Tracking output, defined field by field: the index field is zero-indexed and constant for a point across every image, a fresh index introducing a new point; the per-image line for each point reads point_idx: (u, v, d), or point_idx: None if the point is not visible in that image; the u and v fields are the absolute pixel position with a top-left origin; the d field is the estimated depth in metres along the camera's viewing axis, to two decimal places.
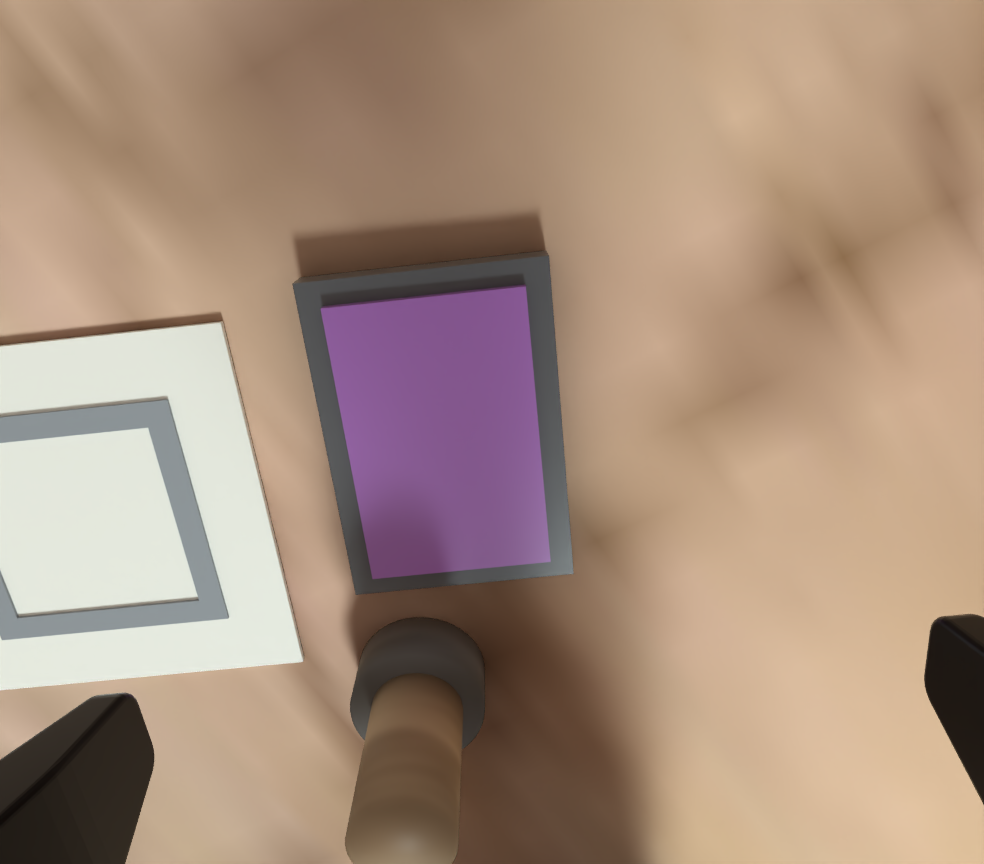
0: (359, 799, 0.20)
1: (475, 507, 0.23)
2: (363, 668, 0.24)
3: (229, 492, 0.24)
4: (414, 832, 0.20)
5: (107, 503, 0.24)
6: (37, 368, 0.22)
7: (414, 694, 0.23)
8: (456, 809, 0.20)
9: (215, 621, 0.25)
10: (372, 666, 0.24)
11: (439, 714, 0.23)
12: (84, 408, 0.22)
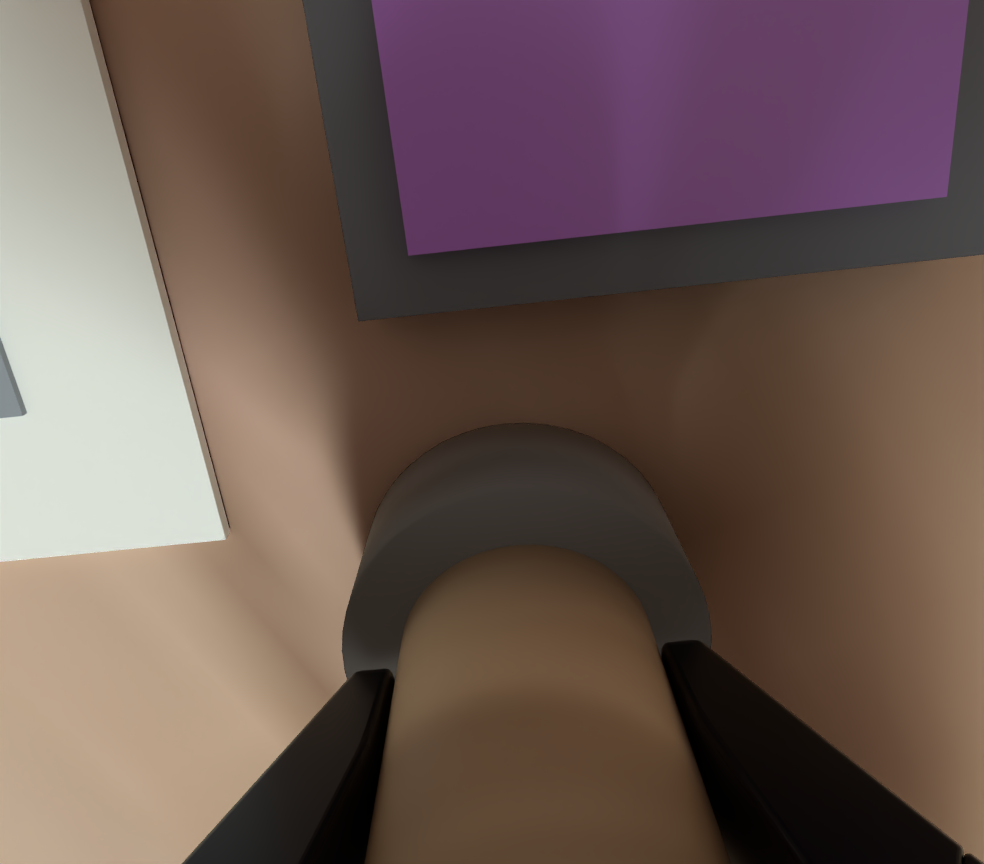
0: None
1: None
2: (379, 538, 0.09)
3: None
4: None
5: None
6: None
7: (538, 595, 0.08)
8: None
9: None
10: (405, 524, 0.08)
11: (626, 652, 0.07)
12: None
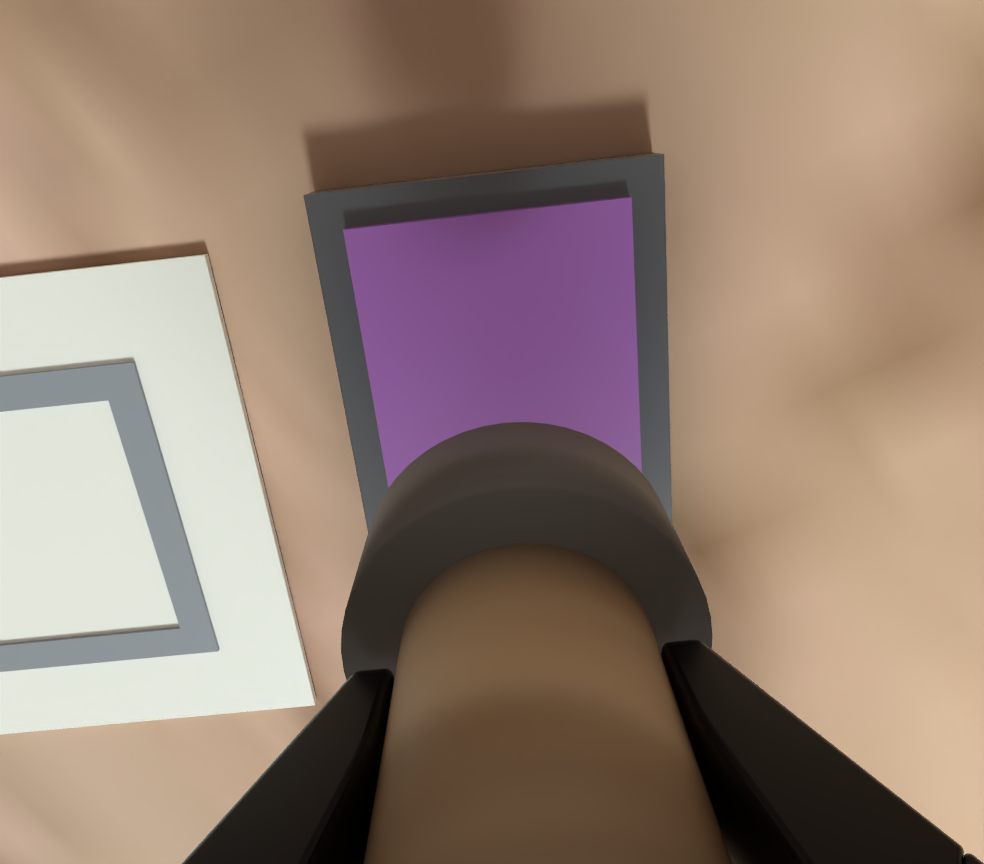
0: None
1: None
2: (378, 538, 0.09)
3: (218, 487, 0.18)
4: None
5: (57, 502, 0.18)
6: None
7: (538, 594, 0.07)
8: None
9: (201, 654, 0.19)
10: (404, 524, 0.08)
11: (627, 652, 0.07)
12: (22, 374, 0.17)
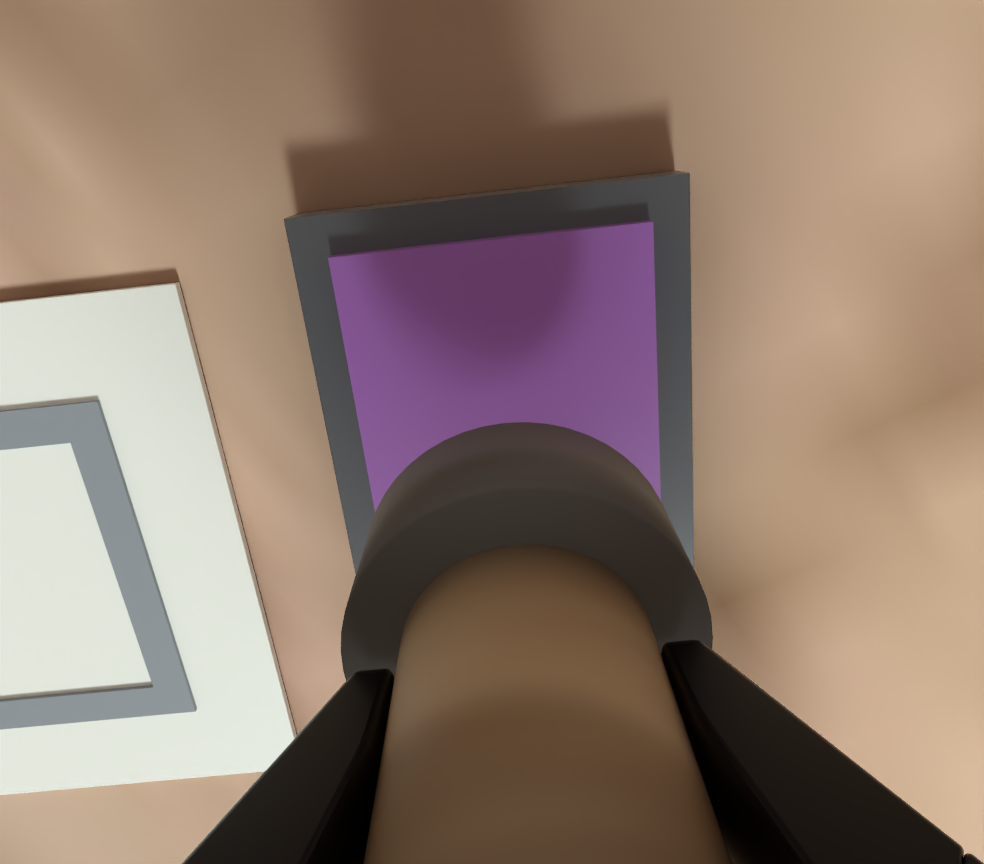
0: None
1: None
2: (378, 538, 0.09)
3: (193, 536, 0.16)
4: None
5: (16, 552, 0.16)
6: None
7: (538, 595, 0.07)
8: None
9: (177, 714, 0.18)
10: (405, 524, 0.08)
11: (627, 653, 0.07)
12: None
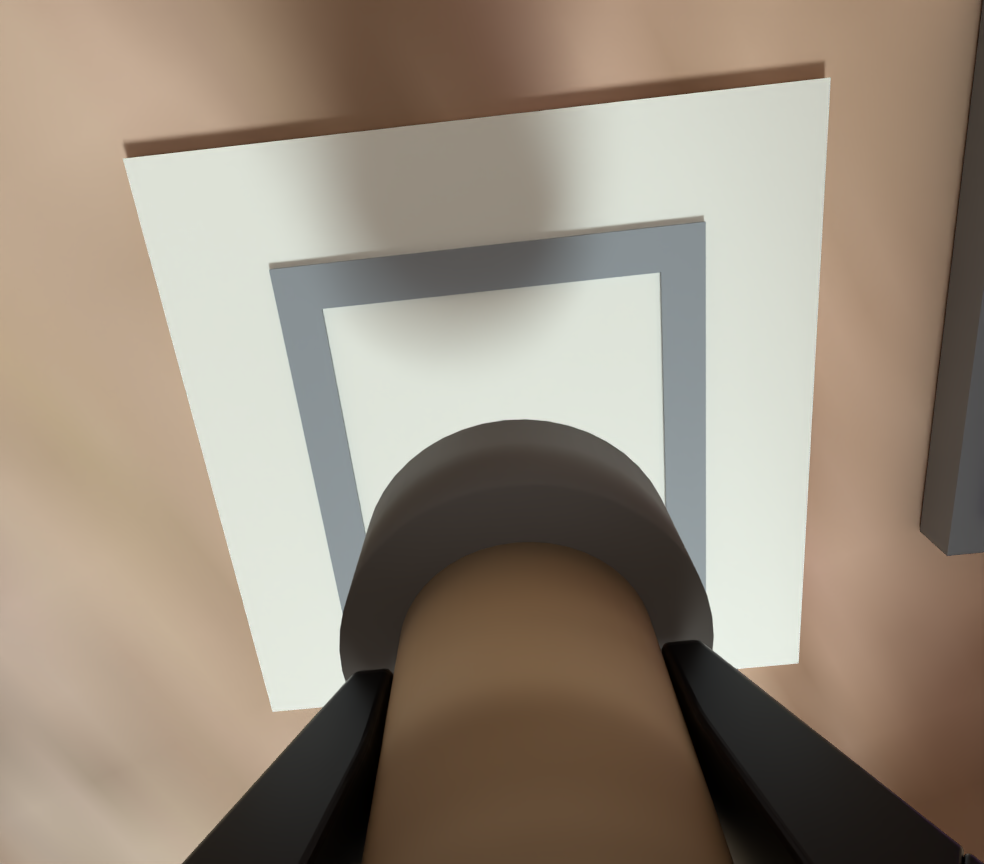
0: None
1: None
2: (376, 535, 0.09)
3: (761, 387, 0.14)
4: None
5: (558, 406, 0.15)
6: (496, 164, 0.13)
7: (538, 593, 0.07)
8: None
9: None
10: (403, 521, 0.08)
11: (628, 651, 0.07)
12: (563, 237, 0.13)
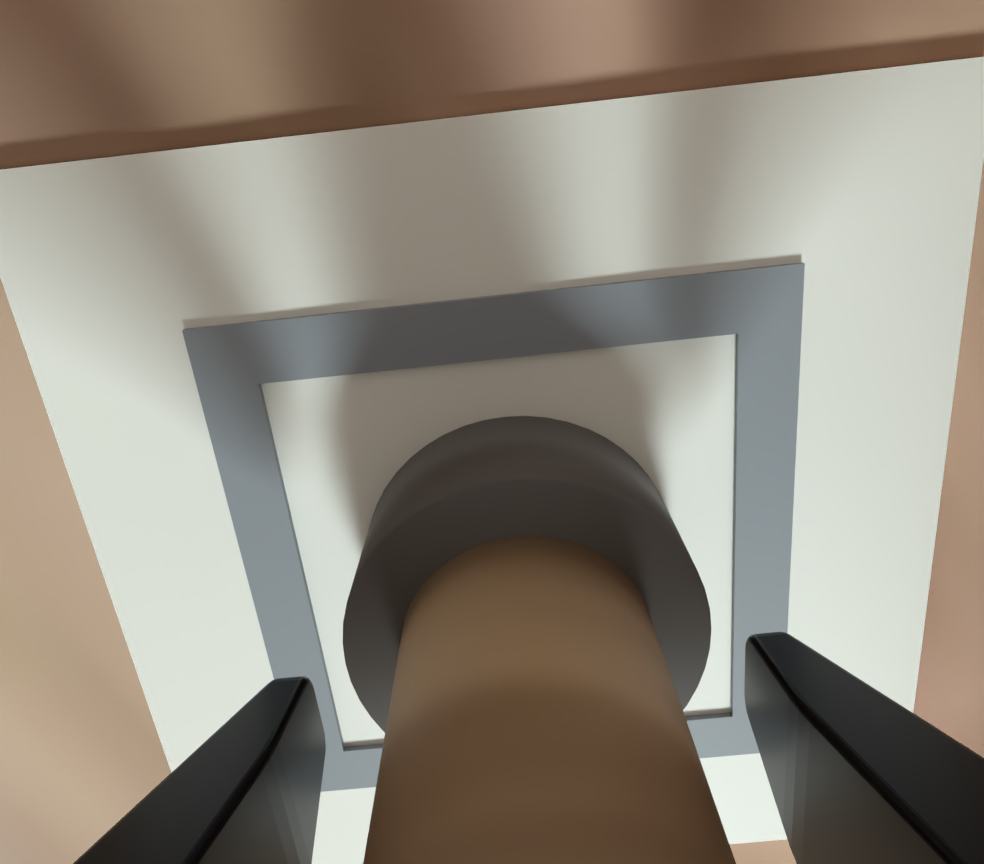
0: None
1: None
2: (379, 530, 0.09)
3: (869, 487, 0.10)
4: None
5: None
6: (505, 181, 0.09)
7: (538, 585, 0.08)
8: None
9: (749, 755, 0.12)
10: (405, 515, 0.08)
11: (627, 642, 0.07)
12: (600, 285, 0.09)
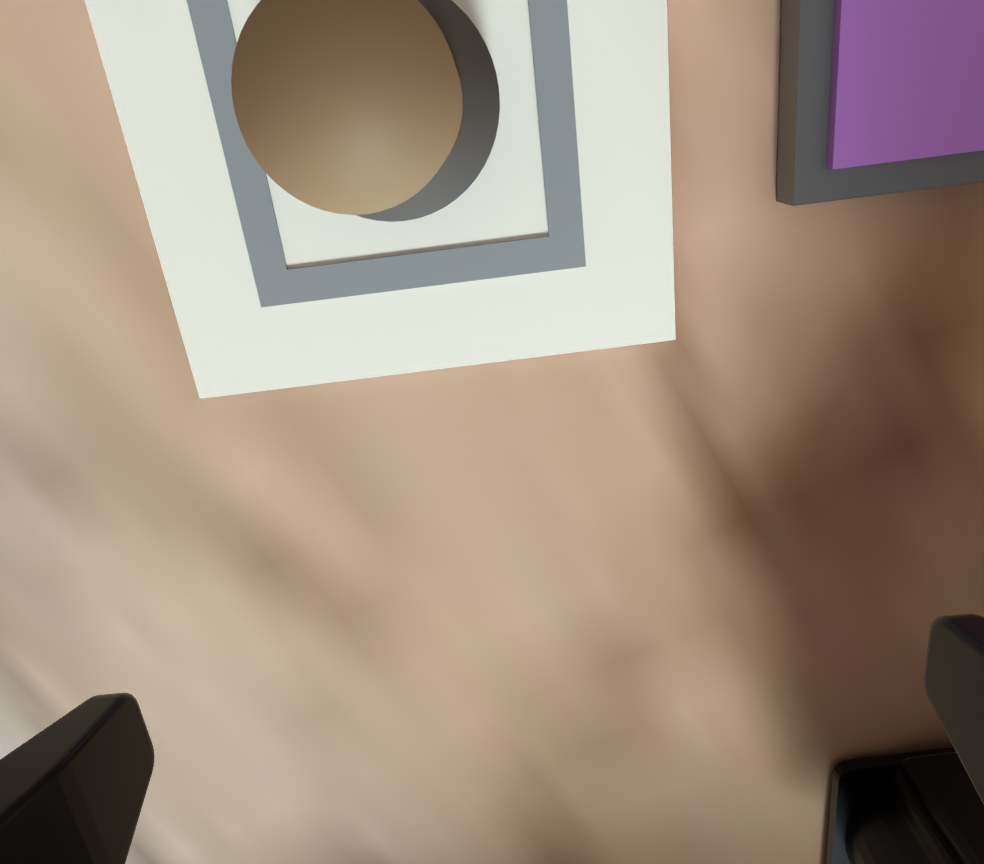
0: None
1: None
2: None
3: (620, 46, 0.16)
4: (370, 62, 0.10)
5: None
6: None
7: None
8: None
9: (565, 273, 0.18)
10: None
11: None
12: None
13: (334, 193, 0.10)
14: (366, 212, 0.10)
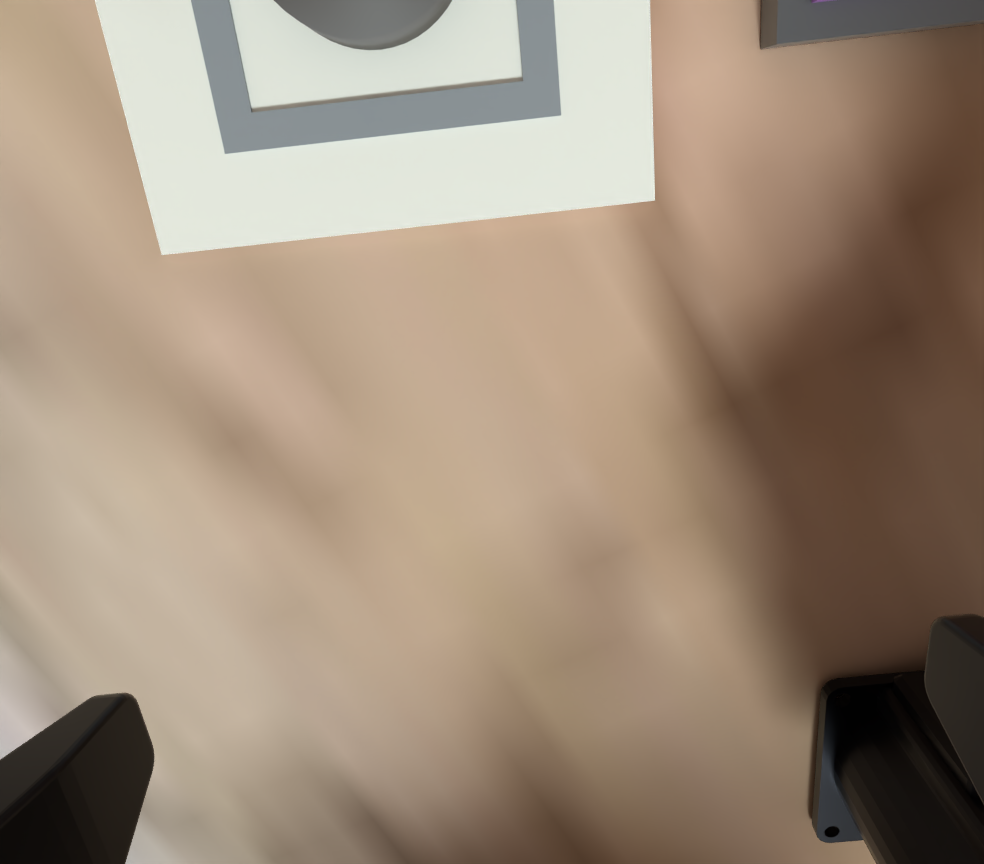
0: None
1: None
2: None
3: None
4: None
5: None
6: None
7: None
8: None
9: (540, 123, 0.17)
10: None
11: None
12: None
13: None
14: None
